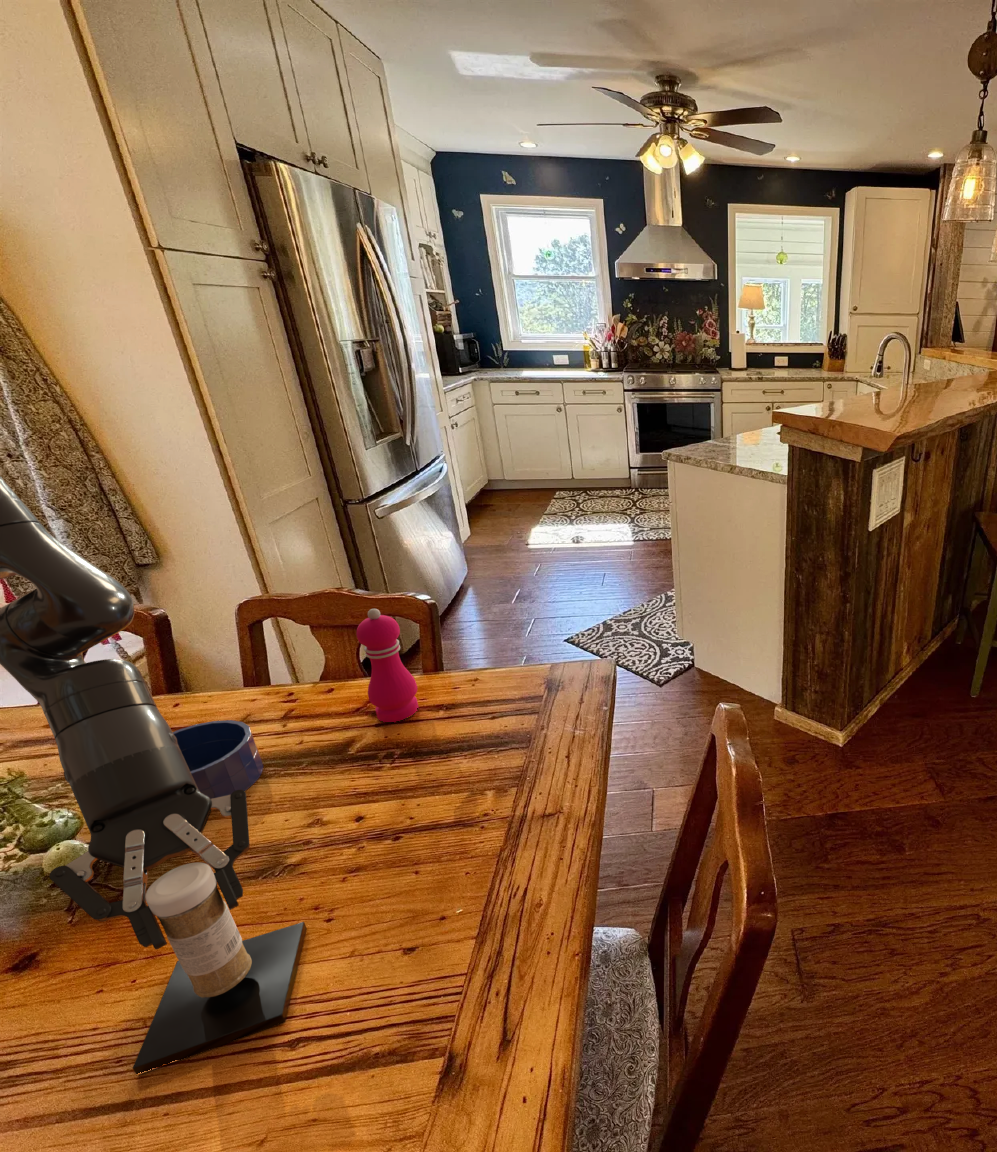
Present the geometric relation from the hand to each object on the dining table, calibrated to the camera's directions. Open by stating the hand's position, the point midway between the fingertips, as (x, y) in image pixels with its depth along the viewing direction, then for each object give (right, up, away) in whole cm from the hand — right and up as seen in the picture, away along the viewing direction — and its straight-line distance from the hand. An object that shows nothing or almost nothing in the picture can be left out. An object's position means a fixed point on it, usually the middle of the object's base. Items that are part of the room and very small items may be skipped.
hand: (198, 925), depth 57 cm
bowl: (-29, +2, +32) cm, 44 cm away
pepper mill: (-12, +8, +50) cm, 52 cm away
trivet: (-2, -10, +5) cm, 12 cm away
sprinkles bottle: (-2, -8, +5) cm, 9 cm away
